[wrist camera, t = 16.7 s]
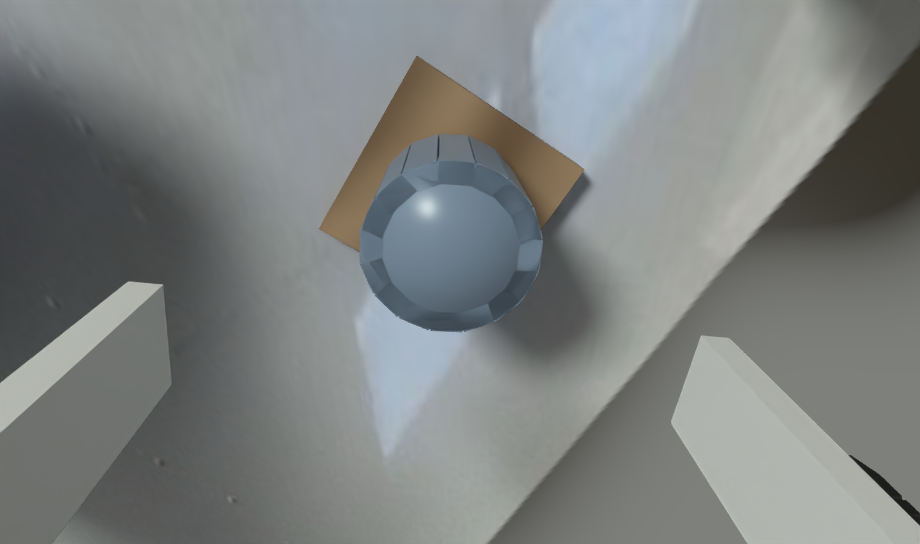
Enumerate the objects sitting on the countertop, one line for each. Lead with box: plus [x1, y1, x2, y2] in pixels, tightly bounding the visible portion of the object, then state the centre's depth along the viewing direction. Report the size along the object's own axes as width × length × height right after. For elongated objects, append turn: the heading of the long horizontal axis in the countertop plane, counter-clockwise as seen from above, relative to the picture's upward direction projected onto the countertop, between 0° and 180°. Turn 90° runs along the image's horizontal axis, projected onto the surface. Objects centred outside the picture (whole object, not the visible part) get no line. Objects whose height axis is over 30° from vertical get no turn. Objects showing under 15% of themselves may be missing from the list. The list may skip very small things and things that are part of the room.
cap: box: [360, 134, 543, 332], centre depth 24 cm, size 7×7×6 cm
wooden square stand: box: [319, 56, 584, 252], centre depth 26 cm, size 10×10×7 cm
